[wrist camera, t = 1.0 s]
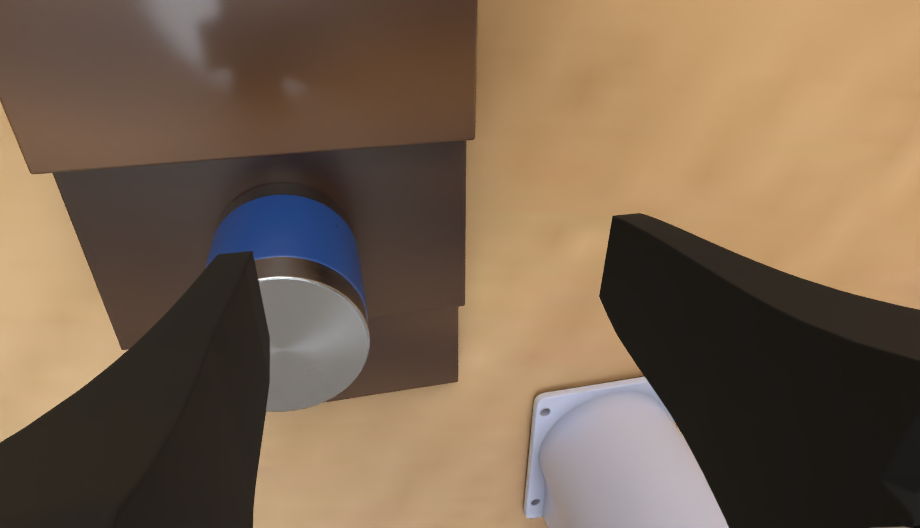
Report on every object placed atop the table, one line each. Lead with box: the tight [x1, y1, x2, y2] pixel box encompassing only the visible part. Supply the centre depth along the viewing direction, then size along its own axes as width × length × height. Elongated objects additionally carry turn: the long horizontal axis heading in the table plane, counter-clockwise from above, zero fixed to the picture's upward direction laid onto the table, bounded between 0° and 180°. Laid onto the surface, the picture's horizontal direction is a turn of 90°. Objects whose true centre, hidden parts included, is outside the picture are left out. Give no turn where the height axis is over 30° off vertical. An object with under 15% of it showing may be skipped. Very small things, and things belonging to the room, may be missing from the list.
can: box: [205, 183, 370, 412], centre depth 18 cm, size 4×4×5 cm
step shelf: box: [0, 0, 478, 402], centre depth 20 cm, size 19×12×4 cm, turn 0°
